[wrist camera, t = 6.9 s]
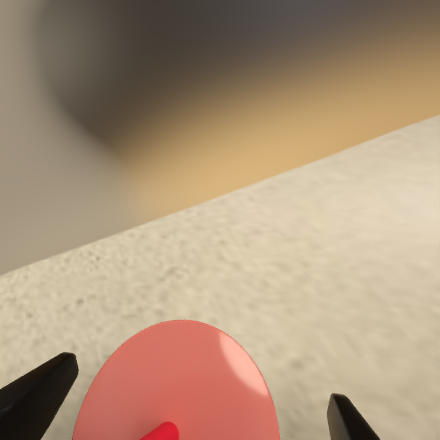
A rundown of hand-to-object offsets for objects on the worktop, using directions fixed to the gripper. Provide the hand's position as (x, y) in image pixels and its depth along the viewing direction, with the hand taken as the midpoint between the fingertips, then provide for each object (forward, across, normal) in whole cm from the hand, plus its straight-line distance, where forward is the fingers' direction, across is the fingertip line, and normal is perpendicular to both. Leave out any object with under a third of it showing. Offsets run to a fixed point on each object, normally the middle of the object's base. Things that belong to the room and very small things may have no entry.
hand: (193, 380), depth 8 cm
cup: (+4, 0, +6) cm, 7 cm away
